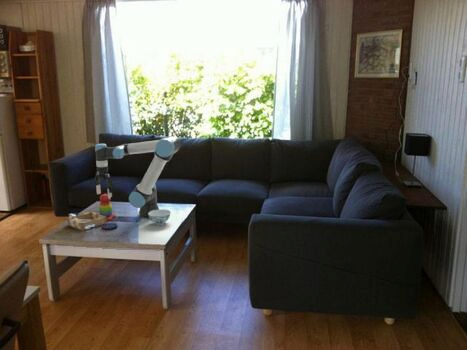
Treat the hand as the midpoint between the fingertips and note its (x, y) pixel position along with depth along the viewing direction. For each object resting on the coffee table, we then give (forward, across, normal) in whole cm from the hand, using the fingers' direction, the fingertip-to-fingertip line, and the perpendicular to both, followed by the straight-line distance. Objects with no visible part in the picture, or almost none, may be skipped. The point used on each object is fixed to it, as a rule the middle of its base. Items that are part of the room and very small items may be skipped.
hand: (104, 195), depth 293 cm
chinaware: (+16, -40, -16) cm, 46 cm away
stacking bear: (+17, 0, 0) cm, 17 cm away
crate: (+17, -2, +16) cm, 23 cm away
